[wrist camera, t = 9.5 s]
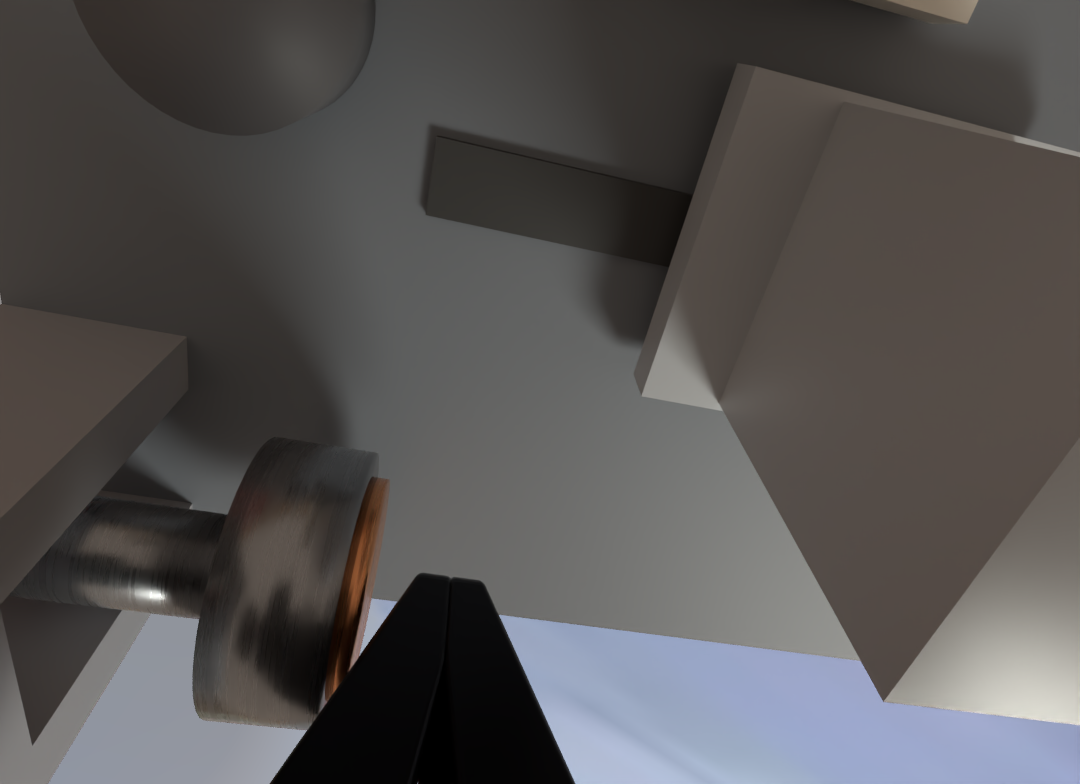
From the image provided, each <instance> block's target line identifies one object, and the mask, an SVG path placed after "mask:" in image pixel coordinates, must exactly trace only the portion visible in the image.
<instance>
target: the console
mask: <svg viewBox="0 0 1080 784" xmlns="http://www.w3.org/2000/svg"><path fill="white" fill-rule="evenodd" d="M737 63H740V64H746V65H751V66H757V67H761V68H764V69H768V70H772V71H776V72H779V73H783V74H787V75H791V76H794V77H798V78H802V79H806V80H809V81H813V82H817V83H821V84H824V85H828V86H832V87H836V88H839V89H843V90H847V91H851V92H854V93H858V94H862V95H866V96H869V97H873V98H877V99H881V100H884V101H888V102H892V103H896V104H899V105H903V106H907V107H911V108H914V109H918V110H922V111H926V112H929V113H933V114H937V115H941V116H944V117H948V118H952V119H956V120H960V121H963V122H967V123H971V124H975V125H978V126H982V127H986V128H990V129H993V130H997V131H1001V132H1005V133H1008V134H1012V135H1016V136H1020V137H1023V138H1027V139H1031V140H1035V141H1038V142H1042V143H1046V144H1050V145H1053V146H1057V147H1061V148H1065V149H1068V150H1072V151H1076V152H1080V0H978V2H977V4H976V7H975V9H974V11H973V13H972V15H971V17H970V19H969V21H968V23H967V24H931V23H927V22H924V21H920V20H917V19H914V18H910V17H907V16H903V15H900V14H896V13H893V12H889V11H886V10H882V9H879V8H875V7H872V6H868V5H865V4H862V3H858V2H855V1H851V0H0V295H1V300H2V304H1V305H0V784H48V783H49V781H50V779H51V778H52V776H53V774H54V773H55V771H56V769H57V768H58V766H59V764H60V763H61V761H62V760H63V757H64V756H65V755H66V753H67V751H68V749H69V748H70V746H71V745H72V743H73V741H74V740H75V738H76V736H77V735H78V733H79V731H80V730H81V728H82V727H83V725H84V723H85V722H86V720H87V718H88V717H89V715H90V713H91V712H92V710H93V708H94V707H95V705H96V703H97V702H98V700H99V698H100V697H101V695H102V694H103V692H104V690H105V689H106V687H107V685H108V684H109V682H110V680H111V679H112V677H113V675H114V674H115V672H116V670H117V669H118V667H119V665H120V664H121V662H122V660H123V659H124V657H125V655H126V654H127V652H128V651H129V649H130V647H131V645H132V644H133V642H134V641H135V639H136V637H137V636H138V634H139V632H140V631H141V629H142V627H143V626H144V624H145V623H146V621H147V619H148V618H149V616H150V614H151V613H143V612H135V611H126V610H118V609H110V608H101V607H93V606H84V605H76V604H68V603H59V602H51V601H42V600H34V599H26V598H17V597H9V596H8V595H9V594H10V593H11V592H12V591H13V590H14V589H15V587H16V586H17V585H18V584H19V583H20V582H21V580H22V579H23V578H24V577H25V576H26V575H27V574H28V572H29V571H30V570H31V569H32V568H33V567H34V566H35V564H36V563H37V562H38V561H39V560H40V559H41V558H42V556H43V555H44V554H45V553H46V552H47V551H48V550H49V548H50V547H51V546H52V545H53V544H54V543H55V542H56V540H57V539H58V538H59V537H60V536H61V535H62V534H63V532H64V531H65V530H66V529H67V528H68V527H69V526H70V524H71V523H72V522H73V521H74V520H75V519H76V518H77V516H78V515H79V514H80V513H81V512H82V511H83V510H84V508H85V507H86V506H87V505H88V504H89V503H90V502H91V500H92V499H93V498H94V497H95V496H102V497H109V498H116V499H123V500H130V501H137V502H144V503H151V504H158V505H165V506H172V507H179V508H186V509H193V510H200V511H208V512H215V513H222V514H228V512H229V509H230V507H231V504H232V502H233V499H234V497H235V495H236V492H237V490H238V487H239V485H240V483H241V481H242V479H243V477H244V475H245V473H246V471H247V469H248V467H249V465H250V463H251V462H252V460H253V458H254V457H255V455H256V454H257V452H258V451H259V450H260V448H261V447H262V446H263V445H264V444H265V443H266V442H267V441H268V440H269V439H271V438H273V437H282V438H288V439H295V440H301V441H307V442H313V443H320V444H326V445H332V446H338V447H345V448H351V449H357V450H363V451H370V452H376V453H378V455H379V473H378V478H385V479H389V480H390V489H389V499H388V507H387V514H386V521H385V527H384V533H383V539H382V545H381V551H380V556H379V562H378V567H377V573H376V578H375V583H374V588H373V593H372V598H374V599H382V600H390V601H397V602H398V601H399V599H400V598H401V596H402V595H403V593H404V592H405V591H406V589H407V588H408V586H409V585H410V583H411V582H412V581H413V579H414V578H415V577H416V576H417V575H418V574H419V573H430V574H437V575H445V576H448V577H450V578H453V577H460V578H467V579H474V580H480V581H482V582H483V583H484V584H485V586H486V588H487V590H488V592H489V595H490V597H491V599H492V601H493V603H494V606H495V608H496V610H497V612H498V614H499V615H507V616H514V617H522V618H530V619H538V620H546V621H553V622H561V623H569V624H577V625H585V626H592V627H600V628H608V629H616V630H624V631H631V632H639V633H647V634H655V635H663V636H671V637H678V638H686V639H694V640H702V641H710V642H717V643H725V644H733V645H741V646H749V647H756V648H764V649H772V650H780V651H788V652H795V653H803V654H811V655H819V656H827V657H834V658H842V659H850V660H858V661H861V660H860V658H859V657H858V655H857V653H856V651H855V649H854V648H853V646H852V644H851V642H850V640H849V638H848V637H847V635H846V633H845V631H844V629H843V628H842V626H841V624H840V622H839V620H838V618H837V617H836V615H835V613H834V611H833V609H832V608H831V606H830V604H829V602H828V600H827V599H826V597H825V595H824V593H823V591H822V589H821V588H820V586H819V584H818V582H817V580H816V579H815V577H814V575H813V573H812V571H811V570H810V568H809V566H808V564H807V562H806V560H805V559H804V557H803V555H802V553H801V551H800V550H799V548H798V546H797V544H796V542H795V541H794V539H793V537H792V535H791V533H790V531H789V530H788V528H787V526H786V524H785V522H784V521H783V519H782V517H781V515H780V513H779V512H778V510H777V508H776V506H775V504H774V502H773V501H772V499H771V497H770V495H769V493H768V492H767V490H766V488H765V486H764V484H763V483H762V481H761V479H760V477H759V475H758V473H757V472H756V470H755V468H754V466H753V464H752V463H751V461H750V459H749V457H748V455H747V454H746V452H745V450H744V448H743V446H742V444H741V443H740V441H739V439H738V437H737V435H736V434H735V432H734V430H733V428H732V426H731V425H730V423H729V421H728V419H727V417H726V415H725V414H724V412H723V411H719V410H714V409H708V408H703V407H698V406H692V405H687V404H681V403H676V402H670V401H665V400H659V399H654V398H648V397H643V396H641V394H640V391H639V388H638V385H637V383H636V380H635V377H634V371H635V368H636V365H637V362H638V359H639V356H640V353H641V350H642V347H643V344H644V341H645V338H646V335H647V332H648V329H649V326H650V323H651V320H652V317H653V314H654V311H655V308H656V305H657V302H658V299H659V296H660V293H661V290H662V287H663V284H664V281H665V278H666V275H667V272H668V269H669V266H670V263H671V260H672V257H673V254H674V251H675V248H676V245H677V242H678V239H679V236H680V233H681V230H682V227H683V224H684V221H685V218H686V215H687V212H688V209H689V206H690V203H691V200H692V197H693V194H694V191H695V188H696V185H697V182H698V179H699V176H700V173H701V170H702V167H703V164H704V161H705V158H706V155H707V152H708V149H709V146H710V143H711V140H712V137H713V134H714V132H715V129H716V126H717V123H718V120H719V117H720V114H721V111H722V108H723V105H724V102H725V99H726V96H727V93H728V90H729V87H730V84H731V81H732V78H733V75H734V72H735V69H736V66H737Z"/></svg>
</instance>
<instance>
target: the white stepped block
mask: <svg viewBox="0 0 1080 784" xmlns="http://www.w3.org/2000/svg"><path fill="white" fill-rule="evenodd" d="M634 377H635V380H636V383H637V385H638V388H639V391H640V394H641V396H643V397H648V398H654V399H659V400H665V401H670V402H676V403H681V404H687V405H692V406H698V407H703V408H708V409H714V410H719V411H723V412H724V414H725V415H726V417H727V419H728V421H729V423H730V425H731V426H732V428H733V430H734V432H735V434H736V435H737V437H738V439H739V441H740V443H741V444H742V446H743V448H744V450H745V452H746V454H747V455H748V457H749V459H750V461H751V463H752V464H753V466H754V468H755V470H756V472H757V473H758V475H759V477H760V479H761V481H762V483H763V484H764V486H765V488H766V490H767V492H768V493H769V495H770V497H771V499H772V501H773V502H774V504H775V506H776V508H777V510H778V512H779V513H780V515H781V517H782V519H783V521H784V522H785V524H786V526H787V528H788V530H789V531H790V533H791V535H792V537H793V539H794V541H795V542H796V544H797V546H798V548H799V550H800V551H801V553H802V555H803V557H804V559H805V560H806V562H807V564H808V566H809V568H810V570H811V571H812V573H813V575H814V577H815V579H816V580H817V582H818V584H819V586H820V588H821V589H822V591H823V593H824V595H825V597H826V599H827V600H828V602H829V604H830V606H831V608H832V609H833V611H834V613H835V615H836V617H837V618H838V620H839V622H840V624H841V626H842V628H843V629H844V631H845V633H846V635H847V637H848V638H849V640H850V642H851V644H852V646H853V648H854V649H855V651H856V653H857V655H858V657H859V658H860V660H861V662H862V664H863V666H864V667H865V669H866V671H867V673H868V675H869V677H870V678H871V680H872V682H873V684H874V686H875V687H876V689H877V691H878V693H879V695H880V696H881V698H882V700H883V702H889V703H897V704H906V705H914V706H922V707H931V708H939V709H948V710H956V711H965V712H973V713H981V714H990V715H998V716H1007V717H1015V718H1024V719H1032V720H1040V721H1049V722H1057V723H1066V724H1074V725H1080V152H1076V151H1072V150H1068V149H1065V148H1061V147H1057V146H1053V145H1050V144H1046V143H1042V142H1038V141H1035V140H1031V139H1027V138H1023V137H1020V136H1016V135H1012V134H1008V133H1005V132H1001V131H997V130H993V129H990V128H986V127H982V126H978V125H975V124H971V123H967V122H963V121H960V120H956V119H952V118H948V117H944V116H941V115H937V114H933V113H929V112H926V111H922V110H918V109H914V108H911V107H907V106H903V105H899V104H896V103H892V102H888V101H884V100H881V99H877V98H873V97H869V96H866V95H862V94H858V93H854V92H851V91H847V90H843V89H839V88H836V87H832V86H828V85H824V84H821V83H817V82H813V81H809V80H806V79H802V78H798V77H794V76H791V75H787V74H783V73H779V72H776V71H772V70H768V69H764V68H761V67H757V66H751V65H746V64H740V63H737V66H736V69H735V72H734V75H733V78H732V81H731V84H730V87H729V90H728V93H727V96H726V99H725V102H724V105H723V108H722V111H721V114H720V117H719V120H718V123H717V126H716V129H715V132H714V134H713V137H712V140H711V143H710V146H709V149H708V152H707V155H706V158H705V161H704V164H703V167H702V170H701V173H700V176H699V179H698V182H697V185H696V188H695V191H694V194H693V197H692V200H691V203H690V206H689V209H688V212H687V215H686V218H685V221H684V224H683V227H682V230H681V233H680V236H679V239H678V242H677V245H676V248H675V251H674V254H673V257H672V260H671V263H670V266H669V269H668V272H667V275H666V278H665V281H664V284H663V287H662V290H661V293H660V296H659V299H658V302H657V305H656V308H655V311H654V314H653V317H652V320H651V323H650V326H649V329H648V332H647V335H646V338H645V341H644V344H643V347H642V350H641V353H640V356H639V359H638V362H637V365H636V368H635V371H634Z"/></svg>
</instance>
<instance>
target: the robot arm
mask: <svg viewBox="0 0 1080 784" xmlns="http://www.w3.org/2000/svg"><path fill="white" fill-rule="evenodd" d="M417 783H418V784H575V782H574V780H573V778H572V775H571V773H570V771H569V769H568V767H567V764H566V762H565V760H564V758H563V756H562V753H561V751H560V749H559V747H558V745H557V742H556V740H555V738H554V736H553V734H552V731H551V729H550V727H549V725H548V723H547V720H546V718H545V716H544V714H543V711H542V709H541V707H540V705H539V703H538V700H537V698H536V696H535V694H534V692H533V689H532V687H531V685H530V683H529V681H528V678H527V676H526V674H525V672H524V670H523V667H522V665H521V663H520V661H519V659H518V656H517V654H516V652H515V650H514V648H513V645H512V643H511V641H510V639H509V637H508V634H507V632H506V630H505V628H504V625H503V623H502V621H501V619H500V617H499V614H498V612H497V610H496V608H495V606H494V603H493V601H492V599H491V597H490V595H489V592H488V590H487V588H486V586H485V584H484V583H483V582H482V581H480V580H474V579H467V578H460V577H453V578H450V577H448V576H445V575H437V574H430V573H419V574H418V575H417V576H416V577H415V578H414V579H413V581H412V582H411V583H410V585H409V586H408V588H407V589H406V591H405V592H404V593H403V595H402V596H401V598H400V599H399V601H398V602H397V603H396V605H395V606H394V608H393V609H392V610H391V612H390V613H389V615H388V616H387V618H386V619H385V620H384V622H383V623H382V625H381V626H380V628H379V629H378V630H377V632H376V633H375V635H374V636H373V638H372V639H371V640H370V642H369V643H368V645H367V646H366V648H365V649H364V650H363V652H362V653H361V655H360V656H359V657H358V659H357V660H356V662H355V663H354V665H353V666H352V667H351V669H350V670H349V672H348V673H347V674H346V676H345V677H344V679H343V680H342V682H341V683H340V684H339V686H338V687H337V689H336V690H335V692H334V693H333V694H332V696H331V697H330V699H329V700H328V702H327V703H326V704H325V706H324V707H323V709H322V710H321V711H320V713H319V714H318V716H317V717H316V719H315V720H314V721H313V723H312V724H311V726H310V727H309V729H308V730H307V731H306V733H305V734H304V736H303V737H302V739H301V740H300V741H299V743H298V744H297V746H296V747H295V748H294V750H293V752H292V753H291V754H290V756H289V757H288V759H287V760H286V761H285V763H284V764H283V766H282V767H281V768H280V770H279V771H278V773H277V774H276V776H275V777H274V778H273V780H272V781H271V783H270V784H417Z"/></svg>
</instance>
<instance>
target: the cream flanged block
mask: <svg viewBox="0 0 1080 784" xmlns="http://www.w3.org/2000/svg"><path fill="white" fill-rule="evenodd" d="M851 1H855V2H858V3H862V4H865V5H868V6H872V7H875V8H879V9H882V10H886V11H889V12H893V13H896V14H900V15H903V16H907V17H910V18H914V19H917V20H920V21H924V22H927V23H931V24H967V23H968V21H969V19H970V17H971V15H972V13H973V11H974V9H975V7H976V4H977V2H978V0H851Z"/></svg>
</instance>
